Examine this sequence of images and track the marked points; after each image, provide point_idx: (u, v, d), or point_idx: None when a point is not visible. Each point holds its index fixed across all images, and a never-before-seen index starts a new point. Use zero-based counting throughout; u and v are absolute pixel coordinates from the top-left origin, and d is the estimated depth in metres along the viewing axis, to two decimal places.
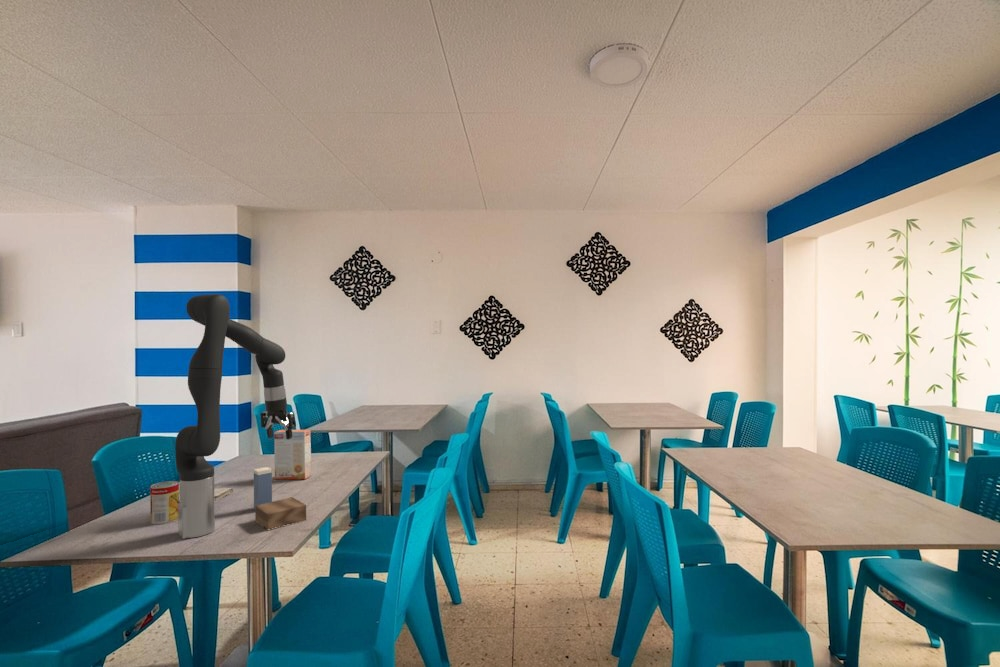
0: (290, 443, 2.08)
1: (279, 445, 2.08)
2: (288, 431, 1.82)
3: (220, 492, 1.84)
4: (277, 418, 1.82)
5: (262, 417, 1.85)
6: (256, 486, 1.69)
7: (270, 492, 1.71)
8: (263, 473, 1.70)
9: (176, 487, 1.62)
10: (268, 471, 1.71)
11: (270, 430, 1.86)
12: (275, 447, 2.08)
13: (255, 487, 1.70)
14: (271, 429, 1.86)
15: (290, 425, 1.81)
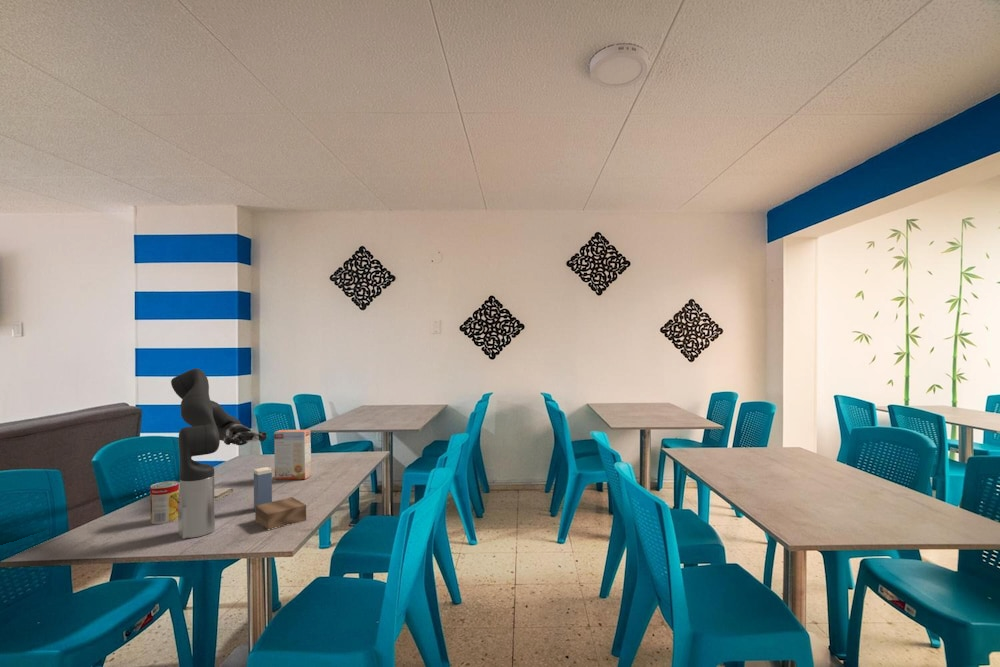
0: (290, 443, 2.08)
1: (279, 445, 2.08)
2: None
3: (219, 492, 1.83)
4: (248, 431, 1.89)
5: (227, 436, 1.84)
6: (256, 486, 1.69)
7: (270, 492, 1.71)
8: (263, 473, 1.70)
9: (176, 487, 1.62)
10: (268, 471, 1.71)
11: None
12: (275, 447, 2.08)
13: (255, 487, 1.70)
14: None
15: (264, 432, 1.91)
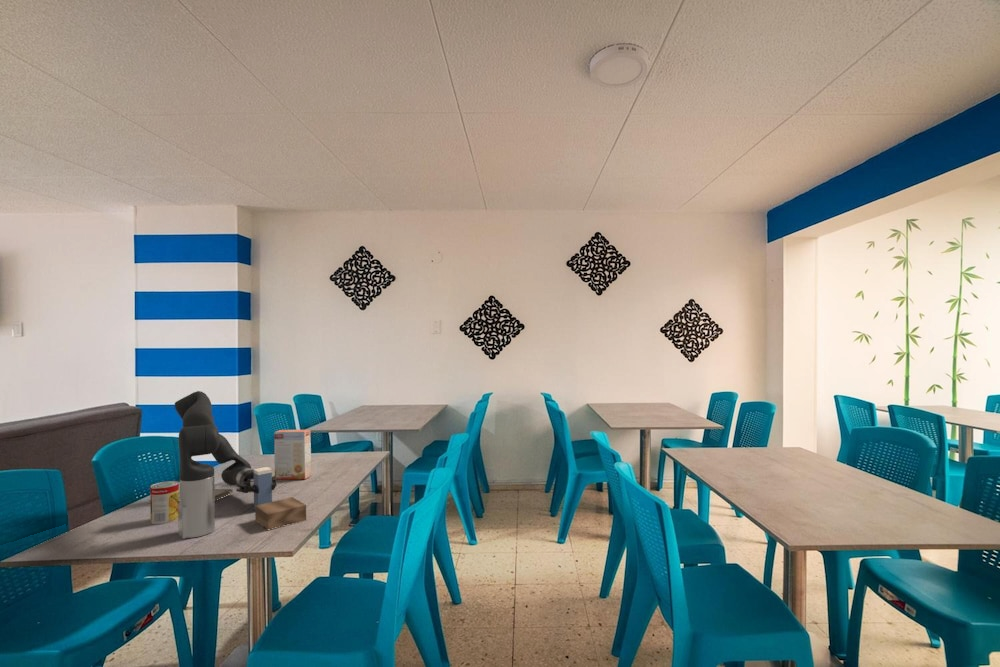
0: (290, 443, 2.08)
1: (279, 445, 2.08)
2: (272, 483, 1.74)
3: (217, 493, 1.83)
4: None
5: (241, 484, 1.72)
6: None
7: (270, 492, 1.71)
8: (263, 473, 1.70)
9: (176, 487, 1.62)
10: (268, 471, 1.71)
11: None
12: (275, 447, 2.08)
13: None
14: None
15: (274, 479, 1.77)
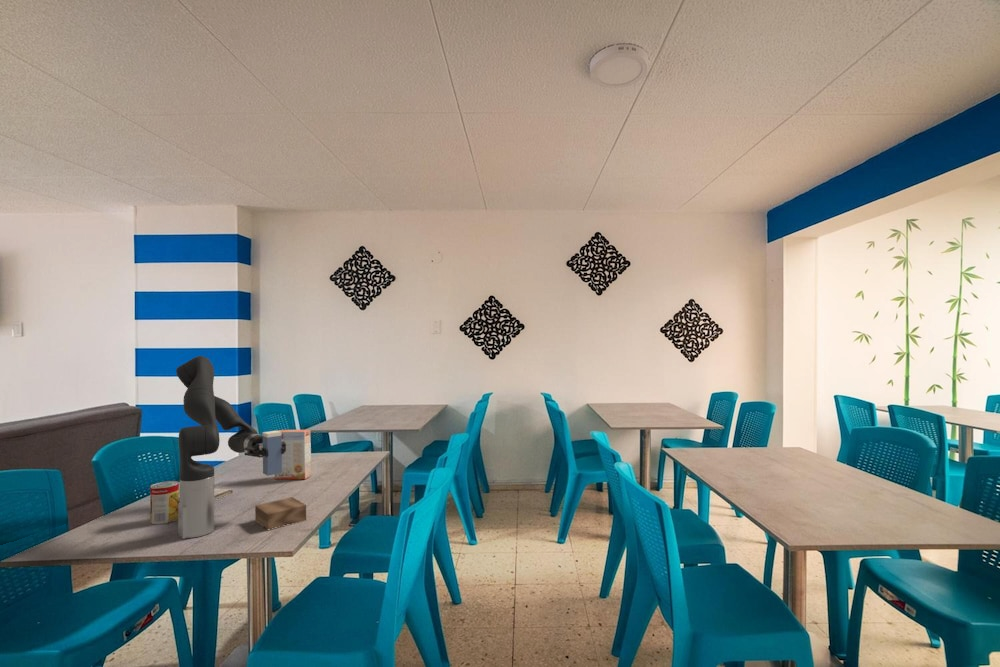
0: (290, 443, 2.08)
1: None
2: None
3: (216, 493, 1.82)
4: None
5: (249, 447, 1.65)
6: None
7: (280, 456, 1.64)
8: (273, 436, 1.63)
9: (176, 487, 1.62)
10: (278, 434, 1.64)
11: None
12: None
13: None
14: None
15: (283, 444, 1.70)
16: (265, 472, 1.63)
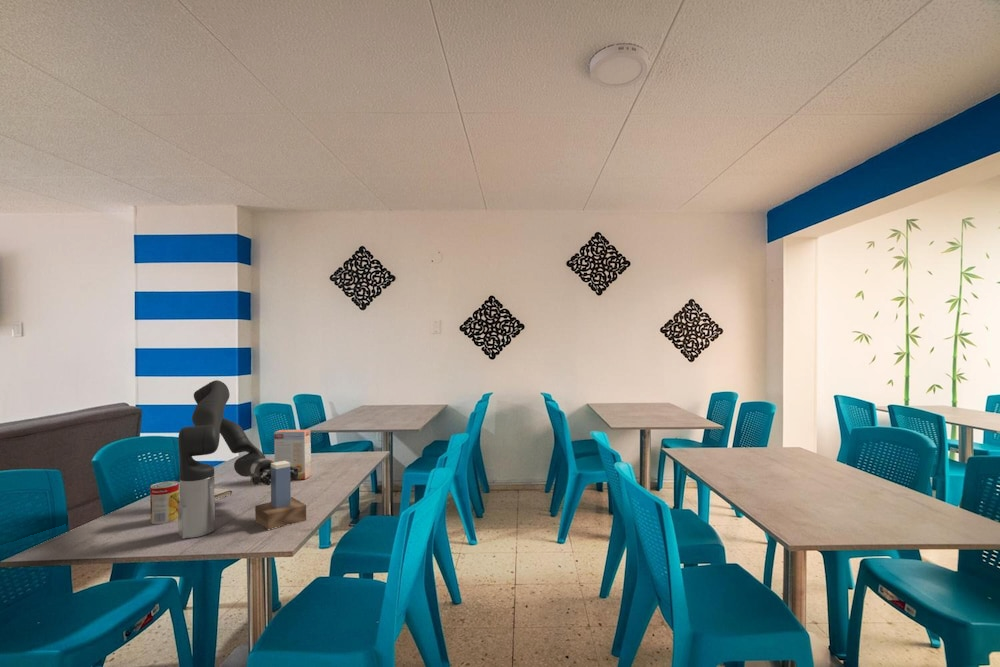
0: (290, 443, 2.08)
1: (279, 445, 2.08)
2: (293, 472, 1.64)
3: (214, 494, 1.82)
4: None
5: (254, 474, 1.60)
6: (274, 481, 1.57)
7: (288, 487, 1.59)
8: (282, 467, 1.58)
9: (176, 487, 1.62)
10: (287, 465, 1.59)
11: None
12: (275, 447, 2.08)
13: (272, 482, 1.58)
14: None
15: (295, 468, 1.67)
16: (273, 505, 1.58)
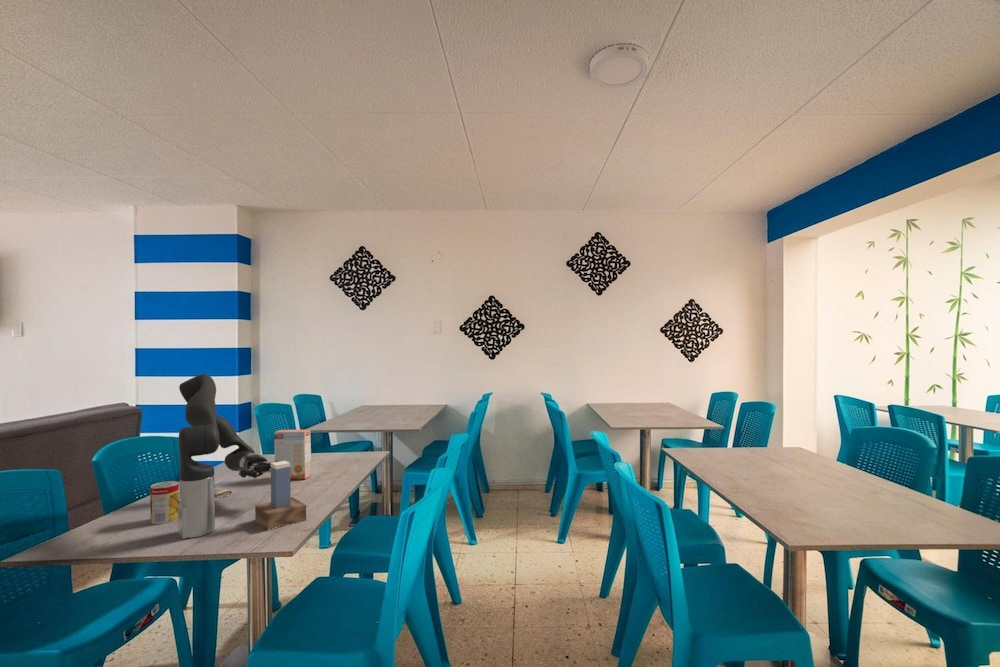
0: (290, 443, 2.08)
1: (279, 445, 2.08)
2: None
3: None
4: (265, 461, 1.74)
5: (242, 468, 1.69)
6: (273, 481, 1.57)
7: (288, 488, 1.59)
8: (281, 467, 1.58)
9: (176, 487, 1.62)
10: (287, 465, 1.59)
11: None
12: (275, 447, 2.08)
13: (272, 482, 1.58)
14: None
15: None
16: (273, 505, 1.58)
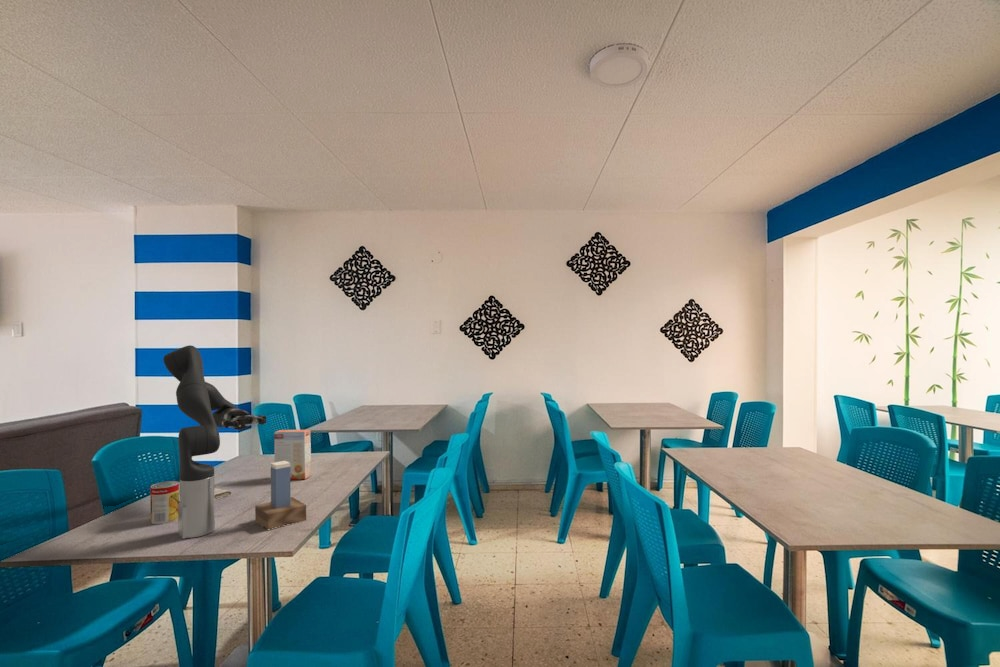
0: (290, 443, 2.08)
1: (279, 445, 2.08)
2: None
3: None
4: (247, 415, 1.82)
5: (225, 419, 1.77)
6: (273, 481, 1.57)
7: (288, 488, 1.59)
8: (281, 467, 1.58)
9: (176, 487, 1.62)
10: (287, 465, 1.59)
11: None
12: (275, 447, 2.08)
13: (272, 482, 1.58)
14: None
15: (264, 416, 1.83)
16: (273, 505, 1.58)
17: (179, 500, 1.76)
